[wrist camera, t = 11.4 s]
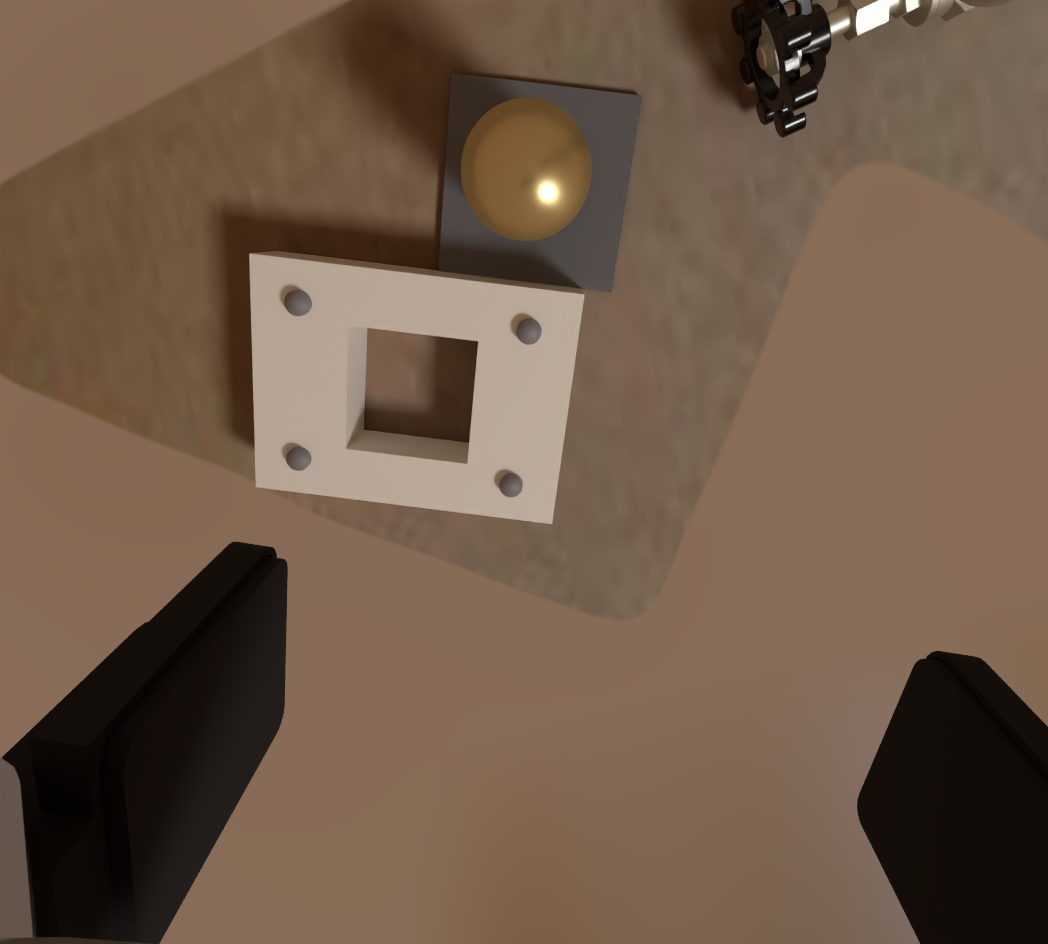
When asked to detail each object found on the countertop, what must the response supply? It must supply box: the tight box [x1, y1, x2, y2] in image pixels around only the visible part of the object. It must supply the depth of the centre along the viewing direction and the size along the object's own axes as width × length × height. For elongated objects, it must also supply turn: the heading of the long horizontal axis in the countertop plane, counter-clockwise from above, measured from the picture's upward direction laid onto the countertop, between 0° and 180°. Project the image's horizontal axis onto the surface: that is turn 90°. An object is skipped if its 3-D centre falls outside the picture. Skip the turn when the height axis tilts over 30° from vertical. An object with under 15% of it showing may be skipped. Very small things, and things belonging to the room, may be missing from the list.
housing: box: [249, 251, 584, 524], centre depth 35 cm, size 16×12×4 cm
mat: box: [438, 73, 642, 292], centre depth 33 cm, size 9×9×1 cm
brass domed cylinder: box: [461, 98, 592, 241], centre depth 29 cm, size 5×5×9 cm
